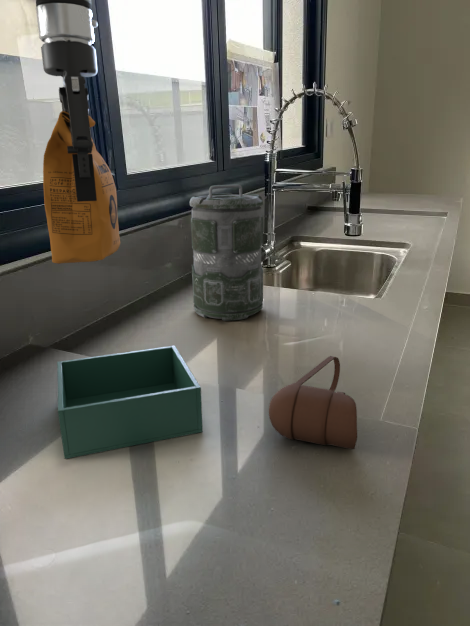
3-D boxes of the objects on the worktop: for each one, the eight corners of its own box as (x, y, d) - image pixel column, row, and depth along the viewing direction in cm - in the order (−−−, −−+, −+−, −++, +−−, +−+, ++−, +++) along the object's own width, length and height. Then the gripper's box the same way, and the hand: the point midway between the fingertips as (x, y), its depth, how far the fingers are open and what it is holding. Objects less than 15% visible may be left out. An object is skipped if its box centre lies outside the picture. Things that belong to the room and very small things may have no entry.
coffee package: (130, 251, 86) (121, 115, 80) (104, 267, 75) (91, 109, 68) (75, 250, 88) (62, 116, 81) (41, 265, 76) (22, 110, 69)
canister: (244, 297, 124) (243, 181, 115) (275, 315, 110) (277, 185, 101) (184, 306, 117) (178, 184, 108) (209, 326, 104) (205, 189, 95)
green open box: (64, 459, 60) (57, 411, 58) (62, 402, 73) (57, 361, 71) (202, 432, 65) (200, 387, 63) (176, 383, 79) (174, 345, 76)
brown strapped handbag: (354, 464, 58) (358, 412, 56) (260, 444, 62) (260, 394, 60) (375, 396, 73) (379, 353, 71) (299, 383, 78) (300, 342, 76)
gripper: (103, 26, 61) (118, 203, 68) (89, 60, 83) (101, 191, 90) (38, 22, 59) (60, 206, 66) (41, 57, 81) (57, 192, 88)
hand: (84, 197), depth 78 cm, fingers closed on coffee package, 12 cm apart
